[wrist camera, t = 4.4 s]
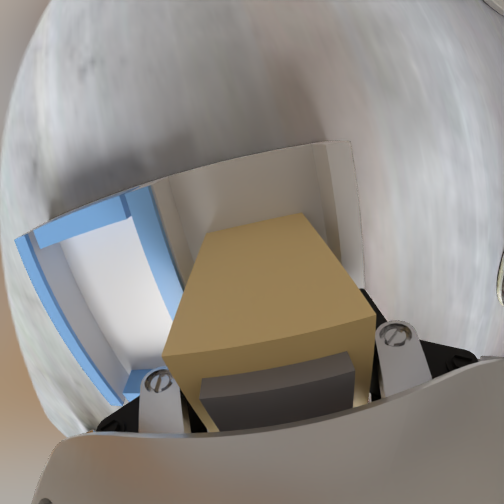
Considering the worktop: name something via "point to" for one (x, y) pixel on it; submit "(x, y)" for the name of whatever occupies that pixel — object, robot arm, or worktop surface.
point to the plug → (270, 329)
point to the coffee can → (501, 283)
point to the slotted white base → (175, 250)
